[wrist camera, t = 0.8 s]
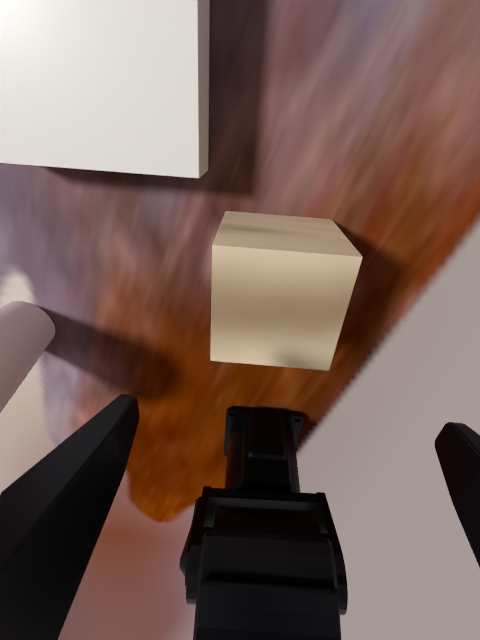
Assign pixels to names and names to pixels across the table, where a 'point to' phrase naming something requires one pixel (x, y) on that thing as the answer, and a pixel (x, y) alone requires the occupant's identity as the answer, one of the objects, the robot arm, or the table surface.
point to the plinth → (106, 85)
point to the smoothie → (21, 344)
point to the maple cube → (280, 289)
